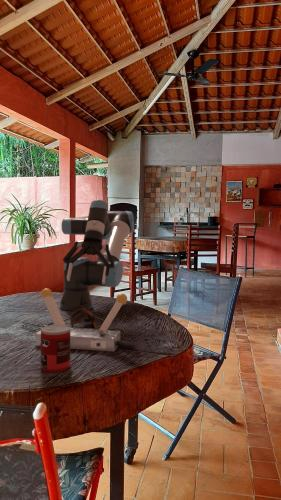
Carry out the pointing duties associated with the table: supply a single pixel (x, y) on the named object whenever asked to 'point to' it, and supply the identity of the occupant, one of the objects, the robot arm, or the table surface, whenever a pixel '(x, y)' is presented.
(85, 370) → the table surface
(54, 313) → the toggle
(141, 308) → the table surface
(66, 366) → the canned food
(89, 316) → the pottery mug
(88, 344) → the switch box
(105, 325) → the toggle
